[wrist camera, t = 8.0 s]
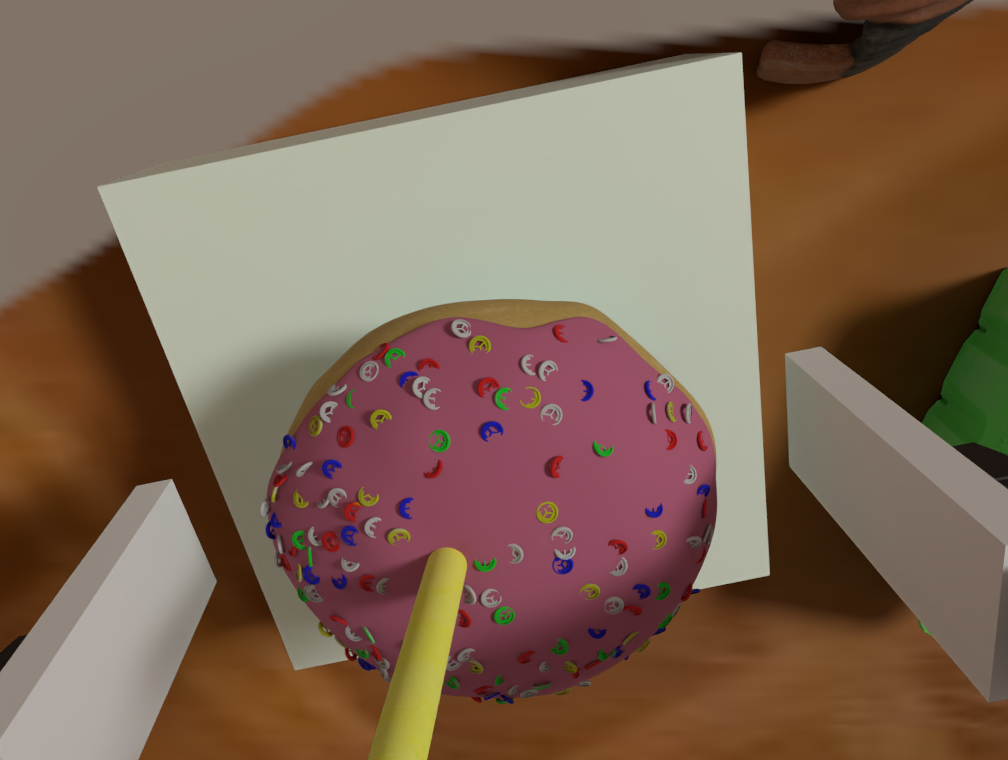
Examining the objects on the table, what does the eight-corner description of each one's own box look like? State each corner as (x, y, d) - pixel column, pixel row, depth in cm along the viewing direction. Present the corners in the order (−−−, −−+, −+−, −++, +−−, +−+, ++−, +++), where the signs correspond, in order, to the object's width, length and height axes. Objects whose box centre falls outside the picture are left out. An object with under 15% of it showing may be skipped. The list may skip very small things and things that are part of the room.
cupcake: (268, 487, 19) (20, 1078, 8) (388, 177, 16) (262, 430, 5) (565, 586, 21) (696, 1172, 10) (720, 325, 18) (1145, 739, 7)
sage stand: (722, 499, 25) (770, 575, 21) (317, 581, 25) (294, 670, 21) (686, 53, 19) (742, 52, 16) (163, 162, 19) (97, 186, 16)
